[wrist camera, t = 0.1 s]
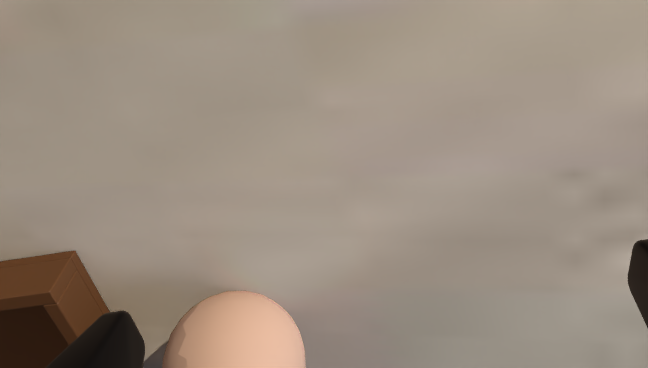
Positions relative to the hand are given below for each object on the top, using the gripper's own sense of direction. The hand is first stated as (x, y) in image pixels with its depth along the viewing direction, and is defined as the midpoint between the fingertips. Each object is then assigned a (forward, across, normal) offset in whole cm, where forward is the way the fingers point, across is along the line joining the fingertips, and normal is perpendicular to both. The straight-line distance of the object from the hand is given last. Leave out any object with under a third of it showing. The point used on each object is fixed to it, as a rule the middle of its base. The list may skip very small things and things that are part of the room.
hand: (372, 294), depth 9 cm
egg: (+15, +8, +14) cm, 22 cm away
